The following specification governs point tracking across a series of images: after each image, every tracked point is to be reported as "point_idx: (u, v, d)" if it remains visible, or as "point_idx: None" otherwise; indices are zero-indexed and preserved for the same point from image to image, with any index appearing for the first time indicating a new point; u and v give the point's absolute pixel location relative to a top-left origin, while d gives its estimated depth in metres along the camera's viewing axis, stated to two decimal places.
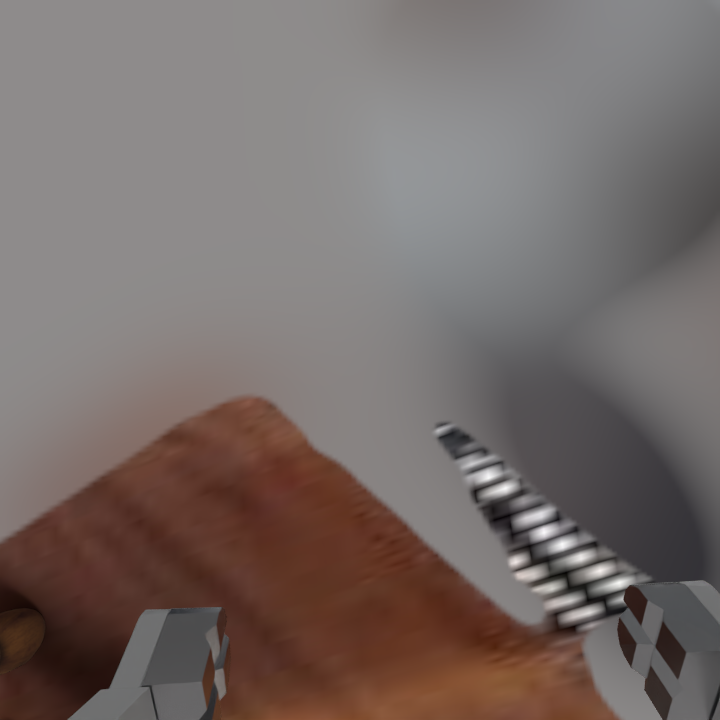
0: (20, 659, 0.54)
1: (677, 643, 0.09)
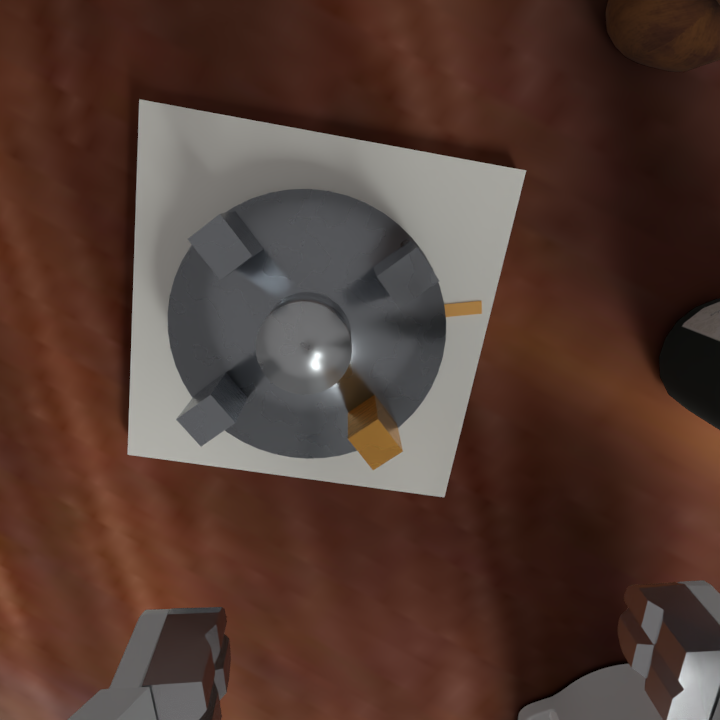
0: None
1: (677, 643, 0.09)
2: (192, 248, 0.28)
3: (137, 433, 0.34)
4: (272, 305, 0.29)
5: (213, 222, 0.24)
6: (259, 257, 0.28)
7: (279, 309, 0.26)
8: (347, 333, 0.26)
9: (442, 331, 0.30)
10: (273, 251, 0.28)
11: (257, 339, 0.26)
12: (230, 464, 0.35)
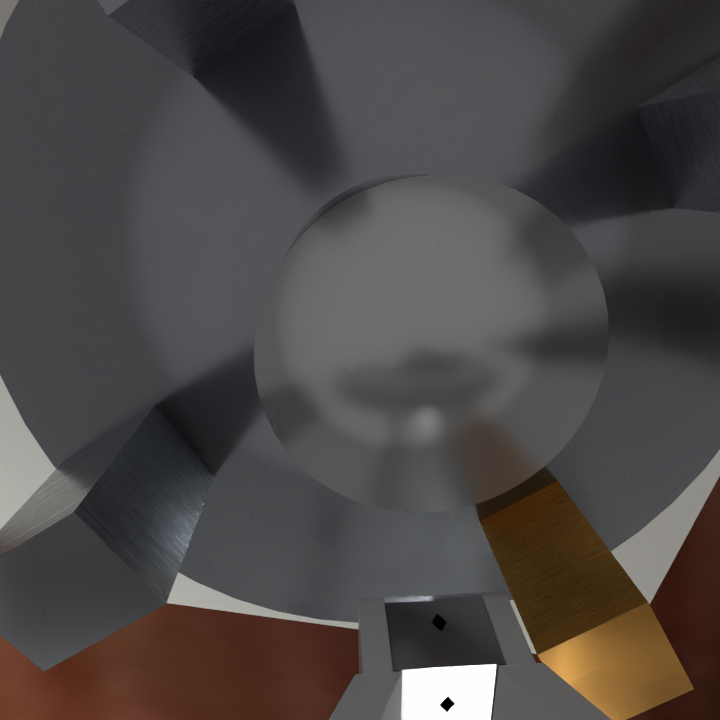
0: None
1: (448, 657, 0.09)
2: None
3: None
4: (307, 212, 0.09)
5: None
6: (277, 39, 0.08)
7: (363, 197, 0.06)
8: (602, 312, 0.07)
9: None
10: (328, 20, 0.08)
11: (263, 314, 0.07)
12: None
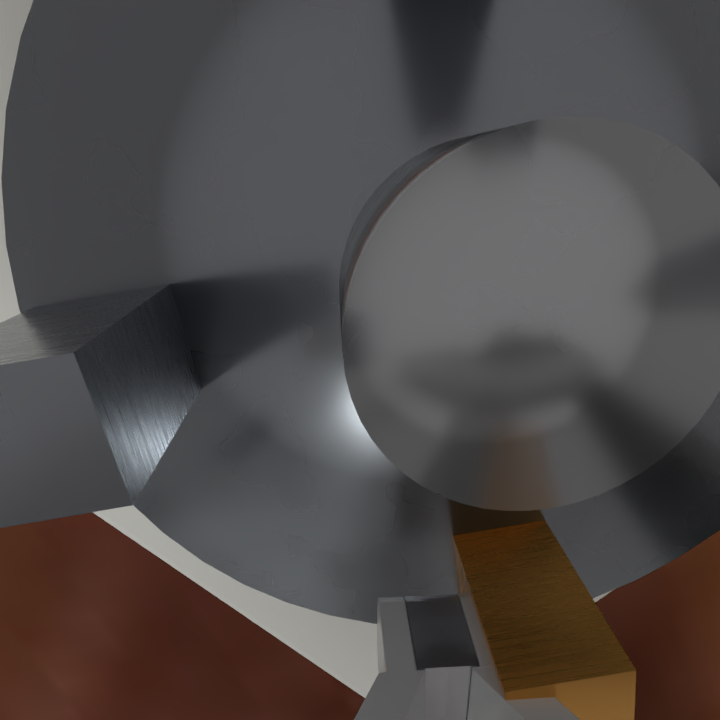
0: None
1: (422, 658, 0.09)
2: None
3: None
4: (431, 139, 0.08)
5: None
6: None
7: (567, 121, 0.05)
8: None
9: None
10: None
11: (397, 209, 0.06)
12: None
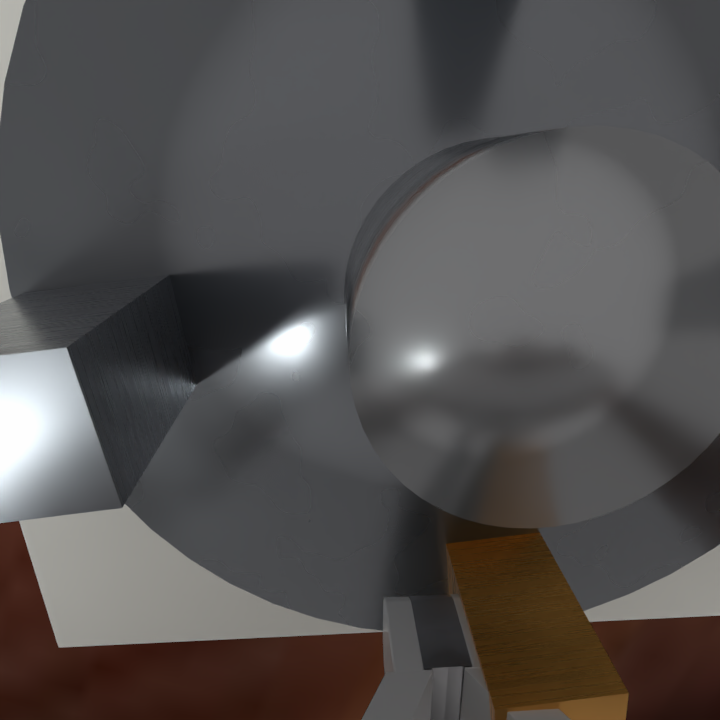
0: None
1: None
2: None
3: None
4: (447, 140, 0.08)
5: None
6: None
7: (598, 131, 0.05)
8: None
9: None
10: None
11: (414, 213, 0.05)
12: None
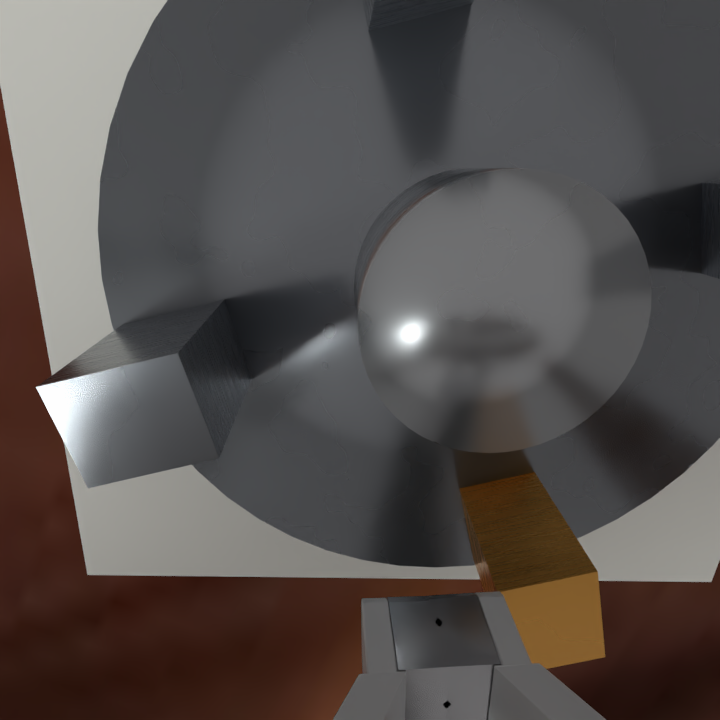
0: None
1: (443, 657, 0.09)
2: None
3: None
4: (417, 176, 0.11)
5: None
6: (447, 25, 0.10)
7: (504, 173, 0.08)
8: (643, 326, 0.09)
9: None
10: (494, 24, 0.10)
11: (390, 240, 0.08)
12: (11, 71, 0.12)
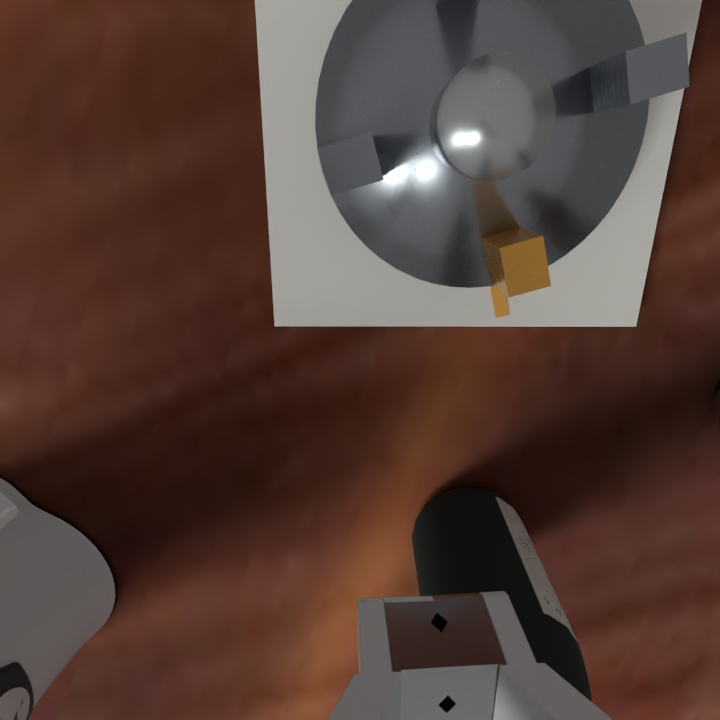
0: None
1: (449, 657, 0.09)
2: None
3: None
4: (457, 70, 0.24)
5: None
6: (469, 1, 0.23)
7: (493, 54, 0.21)
8: (553, 117, 0.22)
9: (624, 177, 0.26)
10: (489, 0, 0.23)
11: (450, 84, 0.21)
12: (263, 38, 0.26)
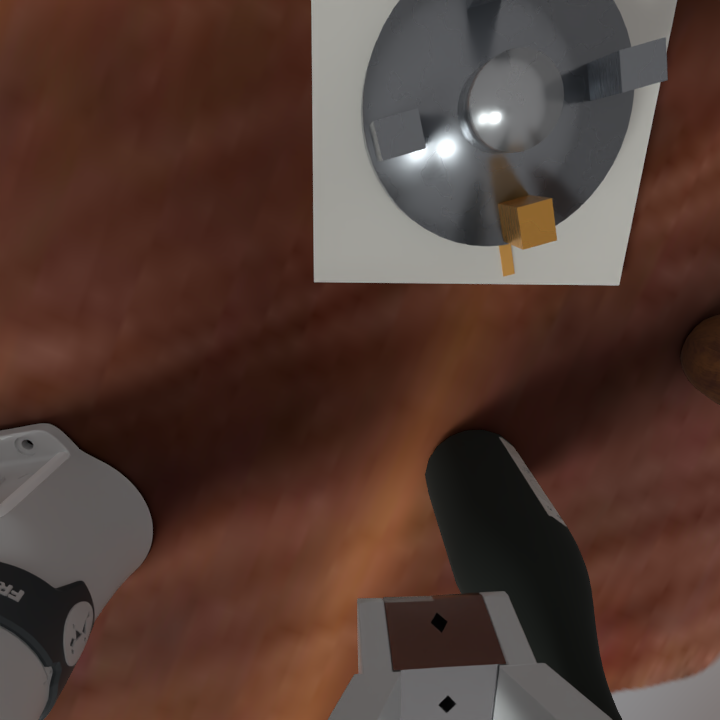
0: None
1: (449, 657, 0.09)
2: None
3: None
4: (482, 62, 0.29)
5: None
6: (493, 6, 0.28)
7: (516, 48, 0.26)
8: (562, 101, 0.27)
9: (613, 155, 0.31)
10: (509, 6, 0.28)
11: (482, 71, 0.27)
12: (316, 30, 0.30)
